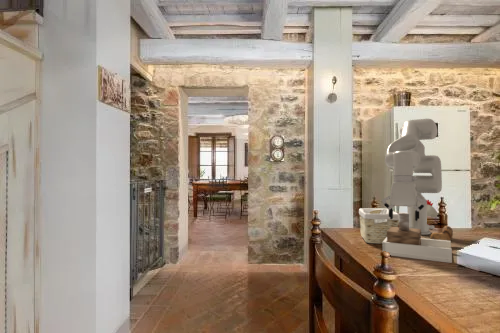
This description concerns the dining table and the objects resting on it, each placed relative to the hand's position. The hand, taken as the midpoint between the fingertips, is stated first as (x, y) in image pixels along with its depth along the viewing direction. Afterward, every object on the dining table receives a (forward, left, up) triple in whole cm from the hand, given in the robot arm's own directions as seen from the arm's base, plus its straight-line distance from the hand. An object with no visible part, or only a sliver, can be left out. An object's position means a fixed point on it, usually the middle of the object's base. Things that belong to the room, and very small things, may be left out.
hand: (403, 219), depth 136 cm
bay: (-4, +3, -14) cm, 15 cm away
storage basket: (-5, -25, -14) cm, 29 cm away
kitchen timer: (-65, -57, -14) cm, 87 cm away
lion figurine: (-22, -4, -14) cm, 27 cm away
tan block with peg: (0, 0, -13) cm, 13 cm away
